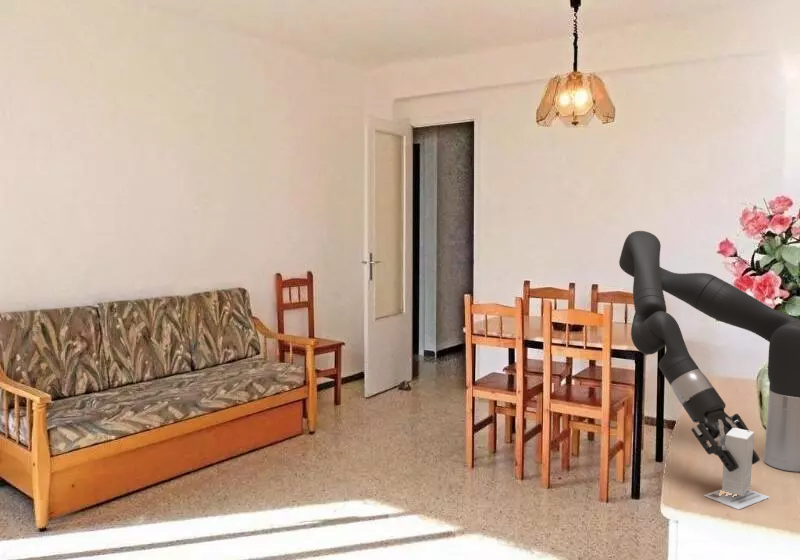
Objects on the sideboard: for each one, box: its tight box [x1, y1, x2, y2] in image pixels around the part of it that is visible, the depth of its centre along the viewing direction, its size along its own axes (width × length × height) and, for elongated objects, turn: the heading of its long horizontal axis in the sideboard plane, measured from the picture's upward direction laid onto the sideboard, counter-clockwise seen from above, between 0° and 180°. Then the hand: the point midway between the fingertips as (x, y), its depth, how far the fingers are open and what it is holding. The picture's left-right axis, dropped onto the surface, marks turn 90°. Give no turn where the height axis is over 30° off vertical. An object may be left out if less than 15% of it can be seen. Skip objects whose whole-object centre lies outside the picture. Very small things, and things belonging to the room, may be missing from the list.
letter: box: [703, 488, 771, 511], centre depth 140 cm, size 11×8×1 cm
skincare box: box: [721, 428, 755, 496], centre depth 139 cm, size 6×4×12 cm
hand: (745, 466), depth 138 cm, fingers closed on skincare box, 7 cm apart
